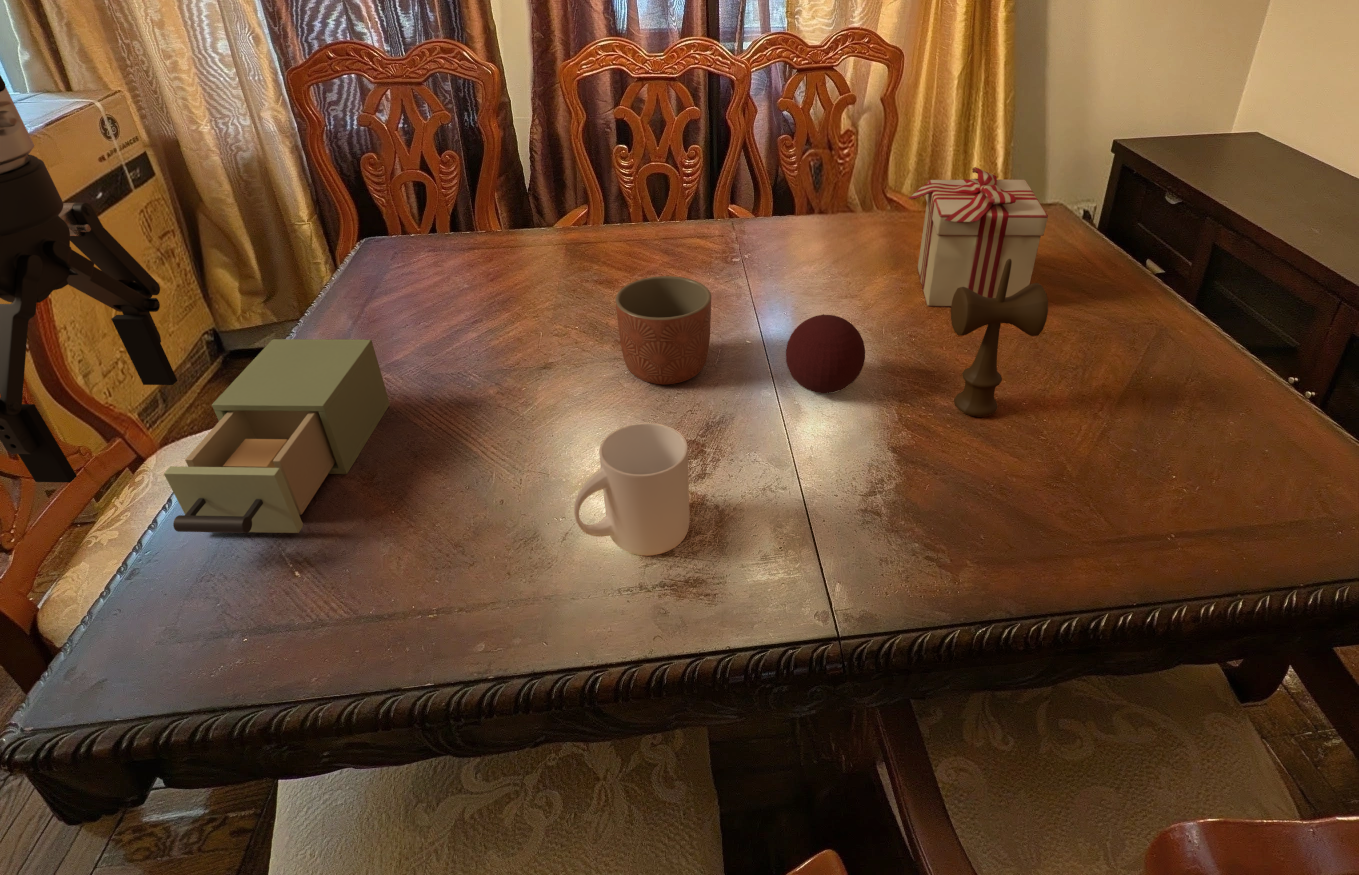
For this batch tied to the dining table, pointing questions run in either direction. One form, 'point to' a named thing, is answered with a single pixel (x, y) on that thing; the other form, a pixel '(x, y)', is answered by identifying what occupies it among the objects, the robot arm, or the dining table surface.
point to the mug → (641, 489)
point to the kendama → (993, 335)
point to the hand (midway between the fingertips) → (113, 427)
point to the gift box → (977, 236)
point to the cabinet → (316, 389)
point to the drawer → (252, 475)
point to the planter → (664, 328)
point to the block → (256, 453)
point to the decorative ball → (825, 354)
